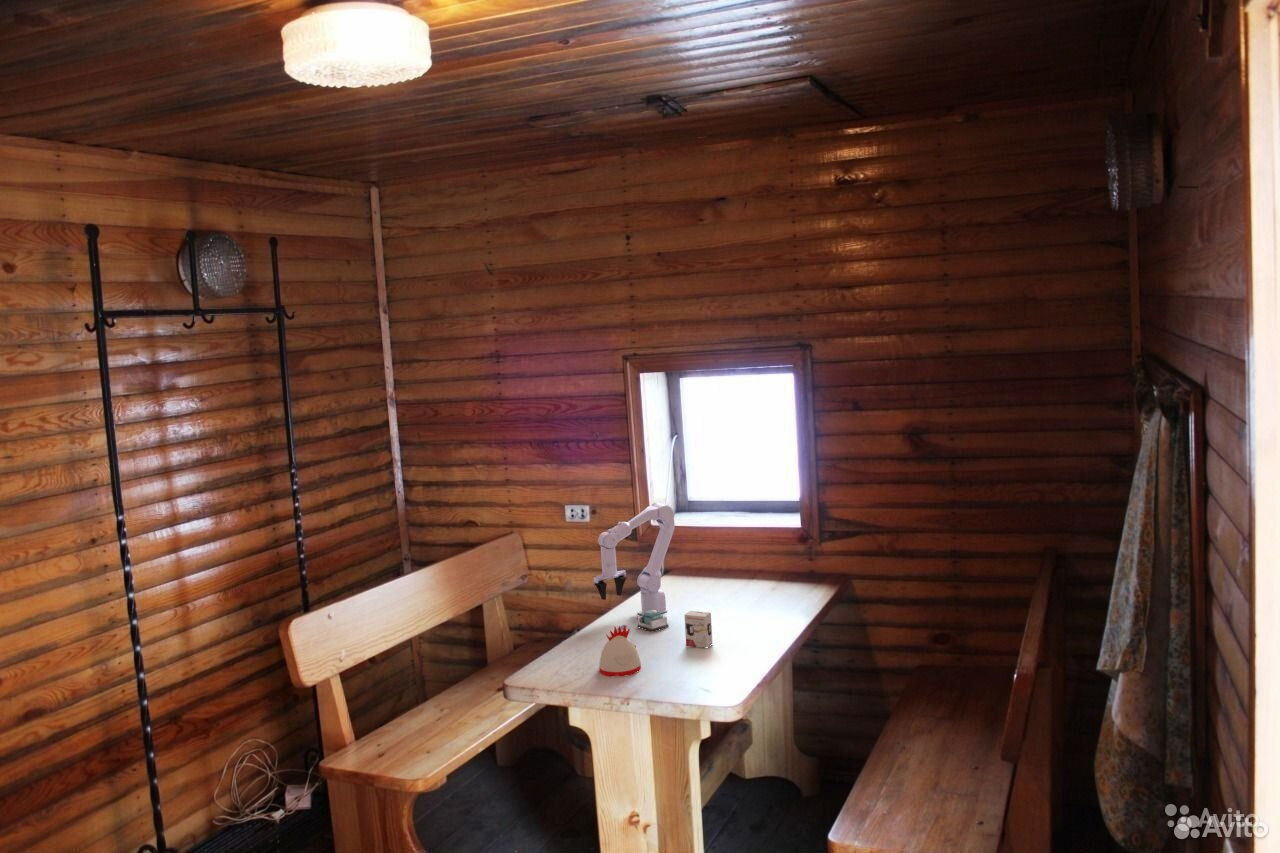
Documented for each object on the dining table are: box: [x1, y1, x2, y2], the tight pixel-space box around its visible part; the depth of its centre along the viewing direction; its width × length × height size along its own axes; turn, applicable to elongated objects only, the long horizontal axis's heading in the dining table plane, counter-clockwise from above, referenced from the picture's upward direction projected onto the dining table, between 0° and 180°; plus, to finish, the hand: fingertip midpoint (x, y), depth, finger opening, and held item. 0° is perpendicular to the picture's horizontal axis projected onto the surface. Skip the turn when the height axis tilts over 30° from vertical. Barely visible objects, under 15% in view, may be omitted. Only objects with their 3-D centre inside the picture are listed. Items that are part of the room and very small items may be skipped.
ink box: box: [684, 610, 713, 648], centre depth 361 cm, size 9×5×12 cm, turn 62°
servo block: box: [640, 610, 664, 624], centre depth 387 cm, size 4×8×6 cm, turn 39°
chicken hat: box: [598, 625, 642, 677], centre depth 341 cm, size 14×14×15 cm
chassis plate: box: [636, 615, 669, 632], centre depth 387 cm, size 8×9×4 cm
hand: (611, 597), depth 398 cm, fingers open, 7 cm apart
